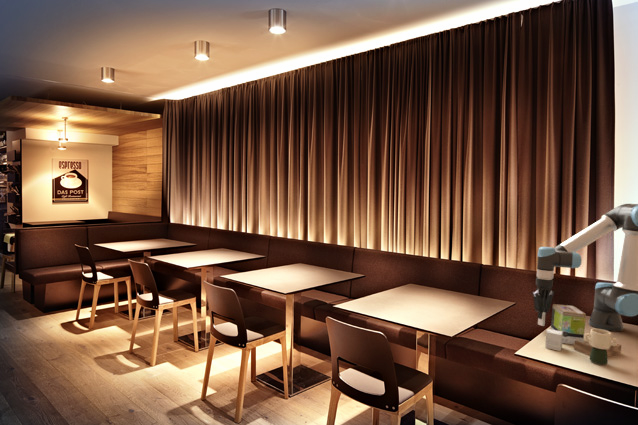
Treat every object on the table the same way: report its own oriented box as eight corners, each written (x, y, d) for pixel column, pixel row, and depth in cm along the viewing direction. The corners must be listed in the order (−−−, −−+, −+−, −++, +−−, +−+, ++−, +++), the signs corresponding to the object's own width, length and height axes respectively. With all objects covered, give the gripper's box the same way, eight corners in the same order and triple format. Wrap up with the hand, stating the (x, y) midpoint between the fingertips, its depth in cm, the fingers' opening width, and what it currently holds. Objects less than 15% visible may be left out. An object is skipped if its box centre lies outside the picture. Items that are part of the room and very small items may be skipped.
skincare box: (562, 347, 194) (563, 331, 194) (560, 351, 189) (561, 334, 189) (546, 344, 198) (547, 328, 197) (544, 348, 193) (546, 331, 192)
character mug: (613, 363, 178) (616, 331, 178) (615, 369, 172) (618, 336, 171) (582, 357, 184) (584, 326, 183) (583, 362, 177) (585, 330, 177)
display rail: (598, 346, 198) (598, 336, 198) (620, 354, 189) (621, 344, 189) (574, 349, 192) (574, 340, 192) (596, 358, 183) (597, 348, 183)
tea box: (584, 345, 198) (586, 313, 197) (559, 343, 200) (562, 311, 199) (572, 335, 213) (574, 305, 212) (549, 333, 215) (551, 303, 214)
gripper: (547, 276, 224) (544, 321, 225) (528, 277, 219) (525, 323, 220) (560, 279, 217) (557, 326, 218) (541, 280, 212) (538, 328, 213)
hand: (541, 325), depth 219 cm, fingers closed
